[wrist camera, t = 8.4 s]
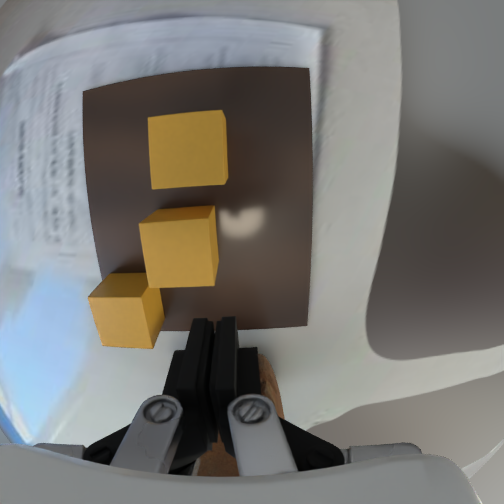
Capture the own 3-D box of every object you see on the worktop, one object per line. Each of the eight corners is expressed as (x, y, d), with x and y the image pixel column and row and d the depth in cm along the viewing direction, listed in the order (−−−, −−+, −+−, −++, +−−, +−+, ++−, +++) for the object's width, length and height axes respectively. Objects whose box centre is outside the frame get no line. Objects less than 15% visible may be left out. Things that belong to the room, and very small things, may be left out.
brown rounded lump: (192, 400, 32) (172, 550, 13) (169, 354, 30) (124, 526, 11) (280, 386, 32) (306, 546, 13) (268, 337, 29) (295, 529, 10)
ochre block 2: (165, 123, 22) (147, 117, 17) (225, 118, 22) (222, 109, 17) (168, 182, 23) (151, 189, 19) (228, 178, 24) (225, 184, 19)
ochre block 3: (157, 209, 24) (138, 223, 19) (214, 204, 24) (208, 218, 20) (164, 264, 26) (149, 288, 21) (219, 261, 26) (214, 286, 21)
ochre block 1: (109, 273, 26) (87, 297, 21) (157, 272, 26) (141, 297, 21) (120, 318, 28) (102, 346, 23) (165, 318, 28) (153, 349, 23)
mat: (84, 91, 20) (82, 91, 20) (308, 69, 21) (309, 68, 21) (116, 328, 28) (115, 329, 28) (306, 324, 29) (307, 325, 29)
